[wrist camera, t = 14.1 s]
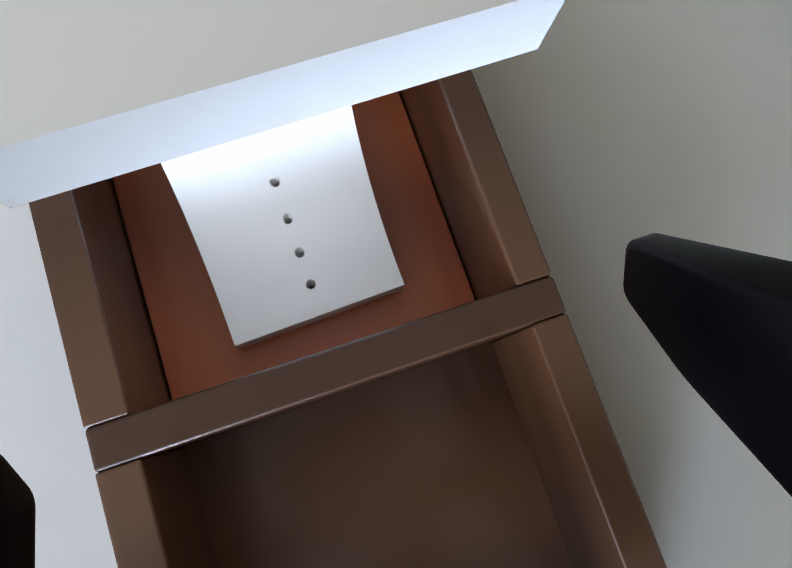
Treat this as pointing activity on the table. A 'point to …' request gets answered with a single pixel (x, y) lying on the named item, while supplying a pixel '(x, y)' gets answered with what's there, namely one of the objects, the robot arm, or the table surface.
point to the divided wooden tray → (345, 379)
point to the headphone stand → (240, 124)
